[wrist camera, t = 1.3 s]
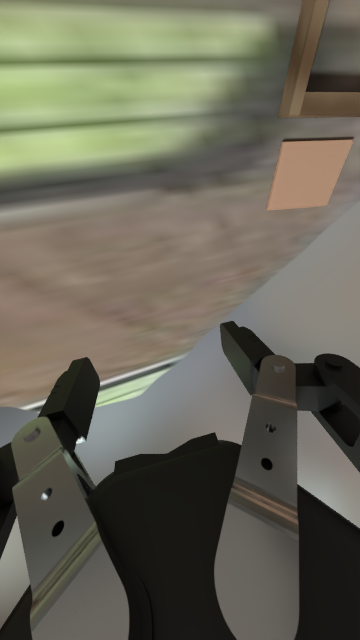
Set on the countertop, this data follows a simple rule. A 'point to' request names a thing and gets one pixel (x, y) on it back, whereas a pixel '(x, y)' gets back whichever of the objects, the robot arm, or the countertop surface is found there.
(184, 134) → the countertop surface
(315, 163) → the mat
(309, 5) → the open wooden frame
